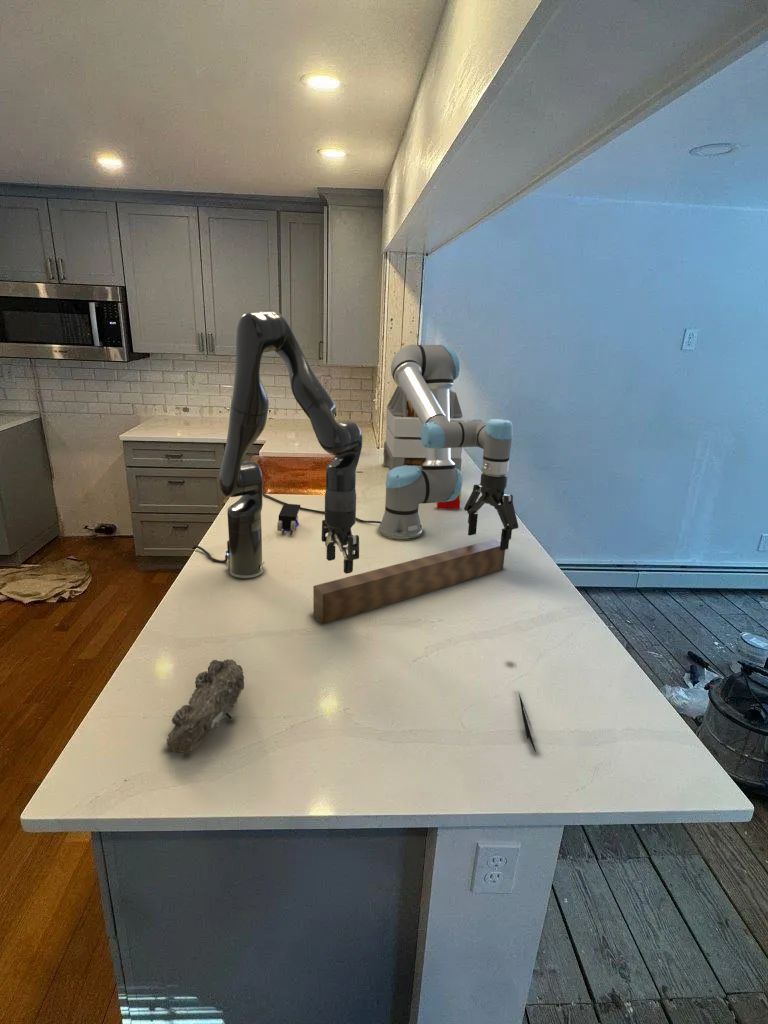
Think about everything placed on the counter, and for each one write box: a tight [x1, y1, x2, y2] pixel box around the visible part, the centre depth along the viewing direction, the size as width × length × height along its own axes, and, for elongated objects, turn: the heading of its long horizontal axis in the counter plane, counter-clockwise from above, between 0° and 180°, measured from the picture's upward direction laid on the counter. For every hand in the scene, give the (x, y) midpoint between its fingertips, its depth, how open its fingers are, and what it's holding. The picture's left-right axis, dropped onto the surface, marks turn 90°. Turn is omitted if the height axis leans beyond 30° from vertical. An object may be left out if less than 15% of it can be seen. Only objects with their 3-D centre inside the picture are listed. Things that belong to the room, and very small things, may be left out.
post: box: [312, 538, 506, 625], centre depth 159 cm, size 64×5×8 cm, turn 125°
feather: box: [517, 691, 537, 753], centre depth 115 cm, size 2×28×2 cm
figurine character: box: [276, 503, 301, 536], centre depth 198 cm, size 7×8×15 cm
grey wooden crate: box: [383, 385, 466, 472], centre depth 268 cm, size 34×33×41 cm
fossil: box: [166, 658, 245, 754], centre depth 106 cm, size 22×10×15 cm
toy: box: [436, 490, 462, 510], centre depth 238 cm, size 12×13×30 cm
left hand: (339, 566), depth 142 cm, fingers open, 8 cm apart
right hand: (487, 541), depth 171 cm, fingers open, 13 cm apart
